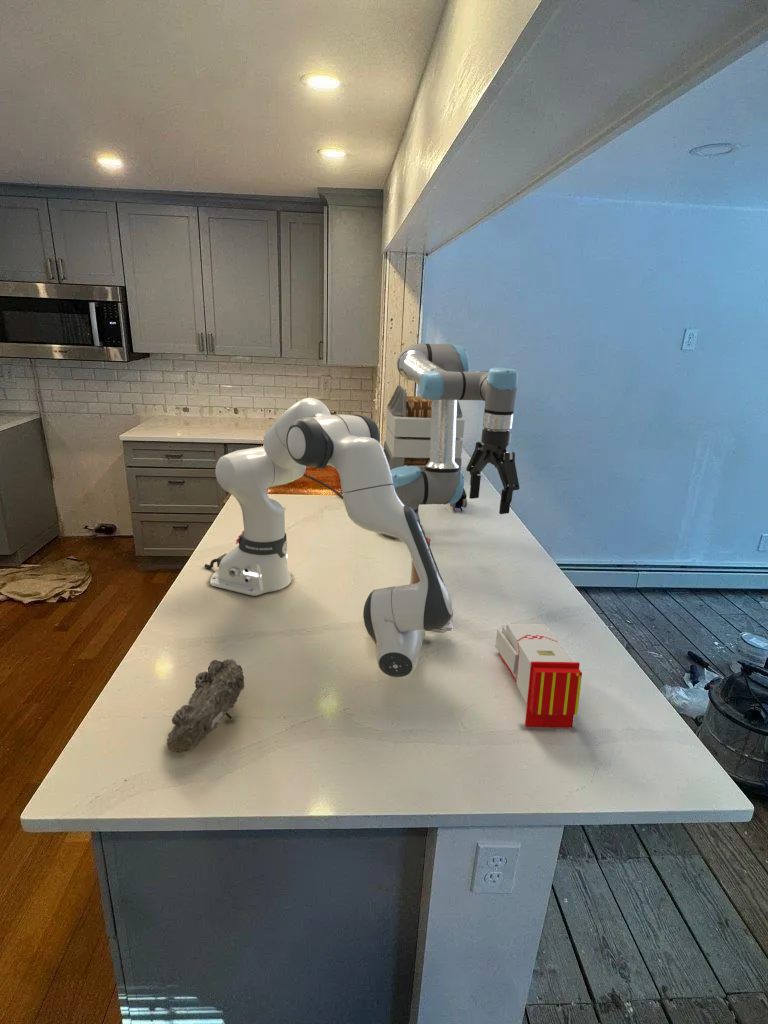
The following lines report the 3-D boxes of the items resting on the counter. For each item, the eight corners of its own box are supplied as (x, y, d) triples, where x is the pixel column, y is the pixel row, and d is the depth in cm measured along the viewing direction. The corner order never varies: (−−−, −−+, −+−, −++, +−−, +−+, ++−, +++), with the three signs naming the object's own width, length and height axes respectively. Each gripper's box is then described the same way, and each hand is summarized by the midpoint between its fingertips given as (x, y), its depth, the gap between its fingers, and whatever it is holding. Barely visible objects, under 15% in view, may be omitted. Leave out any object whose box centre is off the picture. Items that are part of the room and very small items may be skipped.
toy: (542, 608, 134) (591, 669, 104) (537, 660, 136) (583, 734, 107) (491, 607, 133) (526, 668, 104) (487, 660, 136) (520, 733, 107)
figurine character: (467, 516, 223) (461, 500, 237) (469, 499, 220) (463, 483, 233) (450, 516, 223) (446, 499, 236) (452, 498, 220) (447, 483, 233)
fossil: (192, 660, 117) (244, 628, 112) (224, 691, 120) (276, 661, 115) (142, 746, 98) (202, 712, 93) (182, 779, 101) (242, 748, 96)
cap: (425, 542, 152) (425, 535, 151) (432, 548, 149) (433, 541, 148) (412, 544, 150) (412, 537, 150) (419, 550, 147) (420, 543, 146)
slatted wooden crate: (382, 463, 289) (386, 382, 275) (445, 464, 293) (451, 384, 279) (390, 482, 257) (394, 392, 243) (460, 483, 261) (468, 394, 247)
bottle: (422, 594, 158) (426, 536, 152) (431, 602, 154) (436, 543, 148) (405, 597, 156) (409, 538, 150) (414, 606, 152) (419, 545, 146)
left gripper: (453, 620, 127) (456, 592, 140) (364, 608, 130) (375, 581, 143) (450, 644, 129) (454, 614, 142) (363, 632, 133) (374, 603, 145)
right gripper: (540, 438, 140) (529, 518, 147) (480, 419, 161) (473, 490, 168) (516, 440, 137) (506, 522, 144) (458, 420, 157) (451, 493, 165)
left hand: (414, 598), depth 143 cm, fingers open, 8 cm apart
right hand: (488, 505), depth 156 cm, fingers open, 13 cm apart
